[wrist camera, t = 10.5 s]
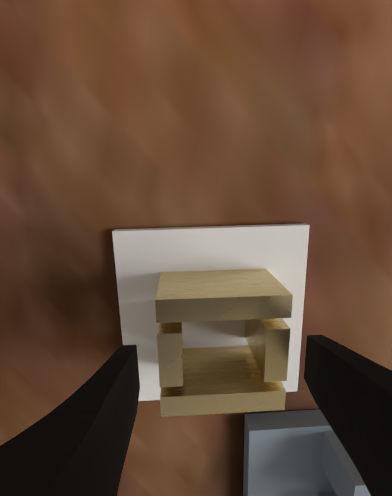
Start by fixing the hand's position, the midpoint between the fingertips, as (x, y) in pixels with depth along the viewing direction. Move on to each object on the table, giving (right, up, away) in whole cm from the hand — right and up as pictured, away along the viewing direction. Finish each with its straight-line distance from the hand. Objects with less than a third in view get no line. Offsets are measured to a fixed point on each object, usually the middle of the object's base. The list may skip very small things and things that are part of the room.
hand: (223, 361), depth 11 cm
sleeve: (0, +1, +3) cm, 4 cm away
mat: (0, +1, +4) cm, 4 cm away
